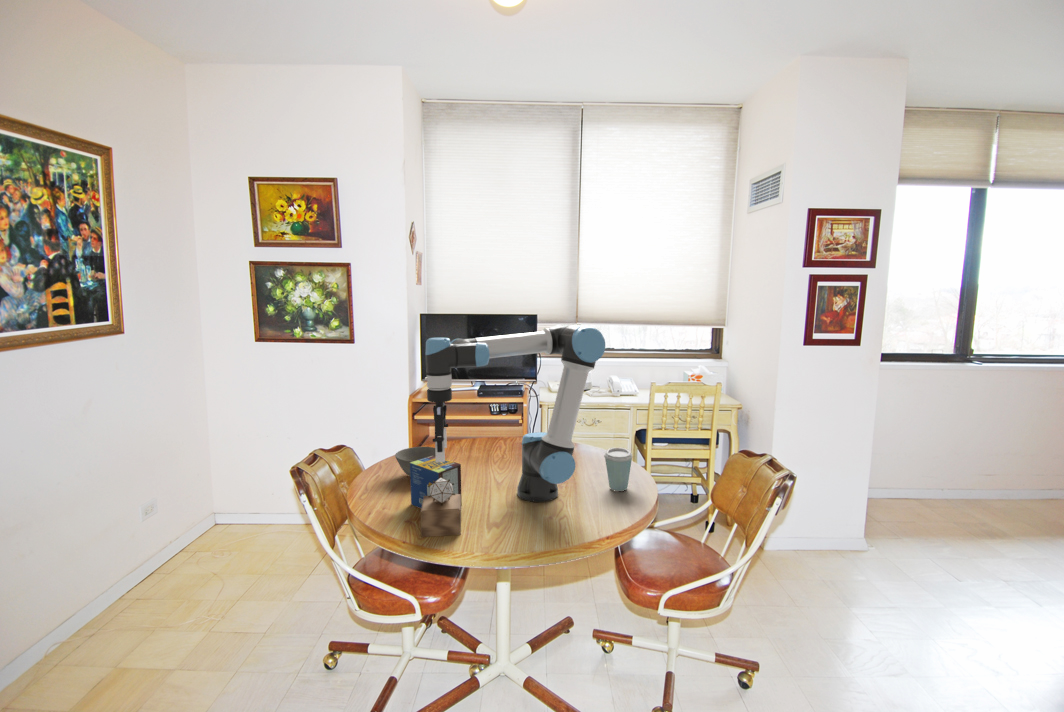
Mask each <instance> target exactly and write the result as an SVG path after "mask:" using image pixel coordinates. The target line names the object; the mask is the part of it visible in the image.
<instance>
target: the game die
mask: <svg viewBox="0 0 1064 712" xmlns="http://www.w3.org/2000/svg"><path fill="white" fill-rule="evenodd" d="M441 477H442V476H441V475H440V478H439V479H438V480H437V481H433V482H434V483H433V484H432V485H431V486H429V485H428V487H430V496H429V497H428V498H430V497H432V498H433V501H434V500H436V501H438V502H440V503H442V504H441V505H442V506H443V503H444V502H445V501H446V500H447V499H448V500H450V497H451V496H452V495H455V494H453V487H452V485H454V483H452V484H451V483H450V482H449V481H450V479H449V480H446V479H443V478H441Z"/></svg>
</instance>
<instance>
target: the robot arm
mask: <svg viewBox="0 0 1064 712" xmlns="http://www.w3.org/2000/svg"><path fill="white" fill-rule="evenodd" d="M605 351H606V340H605V337H604V335H603V333H602V332H601V331H600V330H599V329H598V328H595V327H592V326H590V325H584V324H583V325H582V324H575V323H568V324H563V325H558V326H553V327H552V326H551V327H544V328H543V329H542V330H541V331H534V332H533V331H532V332H524V333H511V334H503V335H493V336H482V337H475V338H455V339H452V340H451V339H450V338H449V337H429V338H428V339H426V342H425V352H424V353H425V354H424V355H425V368H426V369H425V371H426V377H424V381H427V382H426V387H427V390H426V396H427V397H426V399H427V401H428V402H429V403H435V405H433V408H432V410H433V421H434V438H433V439H432V442H434V448H435V455H436V462H445V459H446V453H445V452H446V451H445V449H447V448H448V441H447V440H448V439H447V428H449V423H447V419H446V418H447V410H448V409H447V408H448V407H447V406H448V405H447V404H446V403H447V402H450V401H452V399H453V393H452V391H453V388H451V387H452V386H453V384H452V383H453V381H452V377H453V376H452V369H457V368H475V367H477V368H479V367H486V366H488V364H489V362H490V359H497V358H504V357H505V358H507V357H513V356H523V355H533V354H541V353H542V354H543V353H544V354H545V355H548V356H549V355H560V356H561V358H560V361H561V363H562V365H563V368H562V372H561V377H560V381H559V385H558V387H557V388H558V389H557V391H556V398H555V401H554V405H553V410H552V413H551V418H550V421H549V425H548V429H547V432H545V431H544V432H542V431H541V432H539V431H538V432H530V433H526V434H523V436H522V441H521V476H520V478H519V483H518V485H517V490H516V492H517V493H516V494H517V496H518V497H519V498H520V499H521V500H524V501H527V502H533V503H545V502H550V501H552V500H555V499H556V498H557V497H558V495H559V488H558V485H561V484H564V483H565V482H566V481H568V480H570V479H571V477H572V476H573V475H574V473H575V470H576V461H575V457H574V456H573V455H574V452H575V451H574V449H575V444H574V442H573V435H574V431H575V427H576V423H577V419H578V415H579V412H580V408H581V403H582V399H583V396H584V395H583V394H584V391H585V387H586V385H587V384H586V383H587V380H588V375H589V373H590V372H592V371H593V370H594V369H595V367H596V362H597V361H598V360H599V359H601V358H602V357H603V356H604V355H605Z"/></svg>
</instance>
